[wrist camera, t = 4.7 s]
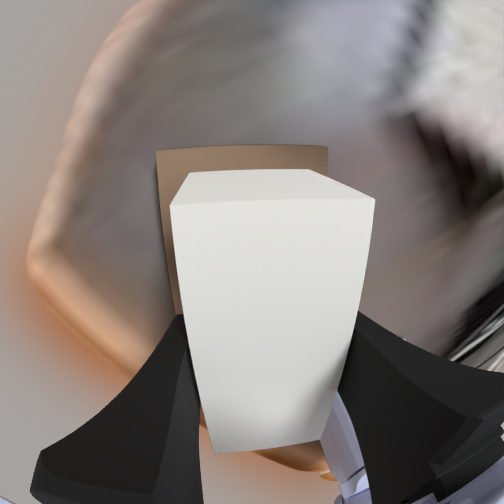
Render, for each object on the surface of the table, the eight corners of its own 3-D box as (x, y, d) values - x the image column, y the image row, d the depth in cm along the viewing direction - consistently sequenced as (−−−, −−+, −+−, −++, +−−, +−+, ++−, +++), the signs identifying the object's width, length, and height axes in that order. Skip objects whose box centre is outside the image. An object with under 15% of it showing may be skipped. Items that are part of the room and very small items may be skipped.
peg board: (305, 334, 19) (322, 373, 15) (184, 344, 18) (181, 386, 14) (319, 145, 14) (350, 151, 11) (160, 149, 13) (142, 155, 10)
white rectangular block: (294, 363, 15) (320, 439, 10) (210, 371, 14) (214, 453, 10) (308, 169, 11) (374, 199, 6) (189, 172, 10) (169, 205, 6)
